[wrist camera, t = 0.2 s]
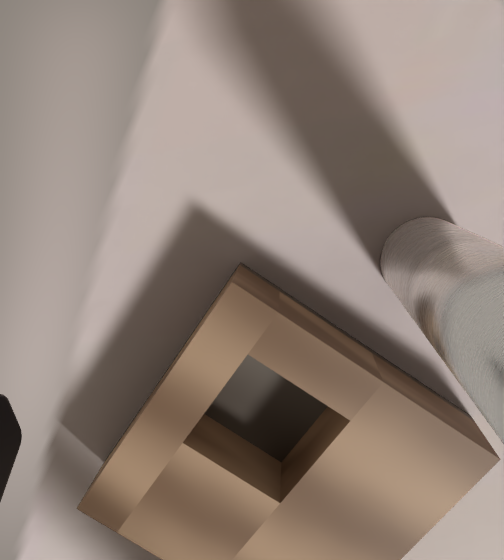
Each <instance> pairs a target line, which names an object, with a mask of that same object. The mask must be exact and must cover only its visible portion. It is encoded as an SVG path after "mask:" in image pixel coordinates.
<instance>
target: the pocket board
mask: <svg viewBox="0 0 504 560" xmlns="http://www.w3.org/2000/svg"><path fill="white" fill-rule="evenodd" d="M499 460H500V458H499V457H498V455H497V454H496V452H495V451H494V449H493V448H492V446H491V445H490V443H489V442H488V441H487V439H486V438H485V436H484V435H483V433H482V432H481V430H480V429H479V427H478V426H477V424H476V423H475V421H474V420H473V418H472V417H471V416H470V415H469V414H467V413H466V412H464V411H463V410H461V409H460V408H458V407H457V406H455V405H454V404H452V403H451V402H449V401H448V400H446V399H445V398H443V397H442V396H440V395H439V394H437V393H436V392H434V391H433V390H431V389H430V388H428V387H427V386H425V385H424V384H422V383H421V382H419V381H418V380H416V379H415V378H413V377H412V376H410V375H409V374H407V373H406V372H404V371H403V370H401V369H400V368H398V367H397V366H395V365H394V364H392V363H391V362H389V361H388V360H386V359H385V358H383V357H382V356H380V355H379V354H377V353H376V352H374V351H373V350H371V349H370V348H368V347H367V346H365V345H364V344H362V343H361V342H359V341H358V340H356V339H355V338H353V337H352V336H350V335H349V334H347V333H346V332H344V331H343V330H341V329H340V328H338V327H337V326H335V325H334V324H332V323H331V322H329V321H328V320H326V319H325V318H323V317H322V316H320V315H319V314H317V313H316V312H314V311H313V310H311V309H310V308H308V307H307V306H305V305H304V304H302V303H301V302H299V301H298V300H296V299H295V298H293V297H292V296H290V295H289V294H287V293H286V292H284V291H283V290H281V289H280V288H278V287H277V286H275V285H274V284H272V283H271V282H269V281H268V280H266V279H265V278H263V277H262V276H260V275H259V274H257V273H256V272H254V271H253V270H251V269H250V268H248V267H247V266H245V265H244V264H242V263H240V264H239V266H238V267H237V269H236V270H235V272H234V273H233V274H232V276H231V277H230V279H229V280H228V282H227V283H226V285H225V286H224V288H223V289H222V291H221V292H220V293H219V295H218V296H217V298H216V299H215V301H214V302H213V304H212V305H211V307H210V308H209V310H208V311H207V313H206V314H205V315H204V317H203V318H202V320H201V321H200V323H199V324H198V326H197V327H196V329H195V330H194V332H193V333H192V335H191V336H190V337H189V339H188V340H187V342H186V343H185V345H184V346H183V348H182V349H181V351H180V352H179V354H178V355H177V357H176V358H175V359H174V361H173V362H172V364H171V365H170V367H169V368H168V370H167V371H166V373H165V374H164V376H163V377H162V379H161V380H160V381H159V383H158V384H157V386H156V387H155V389H154V390H153V392H152V393H151V395H150V396H149V398H148V399H147V401H146V402H145V403H144V405H143V406H142V408H141V409H140V411H139V412H138V414H137V415H136V417H135V418H134V420H133V421H132V423H131V424H130V425H129V427H128V428H127V430H126V431H125V433H124V434H123V436H122V437H121V439H120V440H119V442H118V443H117V445H116V446H115V447H114V449H113V450H112V452H111V453H110V455H109V456H108V458H107V459H106V461H105V462H104V464H103V465H102V467H101V469H100V470H99V472H98V474H97V475H96V477H95V479H94V480H93V482H92V484H91V485H90V487H89V489H88V490H87V492H86V494H85V495H84V497H83V499H82V500H81V502H80V504H79V506H78V507H77V509H78V510H80V511H81V512H83V513H85V514H86V515H88V516H90V517H91V518H93V519H95V520H96V521H98V522H100V523H101V524H103V525H105V526H107V527H108V528H110V529H112V530H113V531H115V532H117V533H118V534H120V535H122V536H123V537H125V538H127V539H128V540H130V541H132V542H133V543H135V544H137V545H138V546H140V547H142V548H144V549H145V550H147V551H149V552H150V553H152V554H154V555H155V556H157V557H159V558H160V559H162V560H401V559H402V558H403V557H404V556H405V555H406V554H407V553H408V552H409V551H410V550H411V549H412V548H413V547H414V546H415V545H416V544H417V543H418V542H419V541H420V540H421V539H422V537H423V536H424V535H425V534H426V533H427V532H428V531H429V530H430V529H431V528H432V527H433V526H434V525H435V524H436V523H437V522H438V521H439V520H440V519H441V518H442V517H443V516H444V515H445V514H446V513H447V512H448V511H449V510H450V509H451V508H452V507H453V506H454V505H455V504H456V503H457V502H458V501H459V500H460V499H461V498H462V497H463V496H464V495H465V494H466V493H467V492H468V491H469V490H470V489H471V488H472V487H473V486H474V485H475V484H476V483H477V482H478V481H479V480H480V479H481V478H482V477H483V476H484V475H485V474H486V473H487V472H488V471H489V470H490V469H491V468H492V467H493V466H494V465H495V464H496V463H497V462H498V461H499Z"/></svg>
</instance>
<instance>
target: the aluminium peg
mask: <svg viewBox="0 0 504 560" xmlns="http://www.w3.org/2000/svg"><path fill="white" fill-rule="evenodd" d="M380 263H381V271H382V274H383V277H384V279H385V281H386V283H387V284H388V285H389V287H390V288H391V289H392V291H393V292H394V294H395V295H396V296H397V298H398V299H399V301H400V302H401V303H402V305H403V306H404V307H405V309H406V310H407V312H408V313H409V314H410V316H411V317H412V318H413V320H414V321H415V323H416V324H417V325H418V327H419V328H420V329H421V331H422V332H423V334H424V335H425V336H426V338H427V339H428V340H429V342H430V343H431V345H432V346H433V347H434V349H435V350H436V351H437V353H438V354H439V356H440V357H441V358H442V360H443V361H444V362H445V364H446V365H447V367H448V368H449V369H450V371H451V372H452V373H453V375H454V376H455V378H456V379H457V380H458V382H459V383H460V384H461V386H462V387H463V389H464V390H465V391H466V393H467V394H468V395H469V397H470V398H471V400H472V401H473V402H474V404H475V405H476V406H477V408H478V409H479V411H480V412H481V413H482V415H483V416H484V417H485V419H486V420H487V422H488V423H489V424H490V426H491V427H492V428H493V430H494V431H495V433H496V434H497V435H498V437H499V438H500V439H501V441H502V442H503V444H504V247H503V246H501V245H499V244H496V243H494V242H492V241H490V240H488V239H485V238H483V237H481V236H479V235H476V234H474V233H472V232H470V231H468V230H465V229H463V228H461V227H459V226H456V225H454V224H452V223H450V222H448V221H445V220H443V219H440V218H435V217H421V218H416V219H413V220H410V221H408V222H406V223H404V224H402V225H401V226H399V227H398V228H397V229H396V230H394V231H393V232H392V234H391V235H390V236H389V237H388V239H387V240H386V242H385V244H384V247H383V249H382V253H381V261H380Z"/></svg>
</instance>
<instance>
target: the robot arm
mask: <svg viewBox="0 0 504 560" xmlns="http://www.w3.org/2000/svg"><path fill="white" fill-rule="evenodd" d="M21 437H22V435H21V429H20V426H19V424H18V421H17V419H16V417H15V414H14V412H13V410H12V407H11V405H10V403H9V401H8V399H7V397H5V396H4V395H2V394H0V501H1V499H2V496H3V493H4V490H5V487H6V484H7V481H8V478H9V476H10V473H11V470H12V467H13V464H14V462H15V459H16V455H17V453H18V450H19V447H20V444H21Z"/></svg>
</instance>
